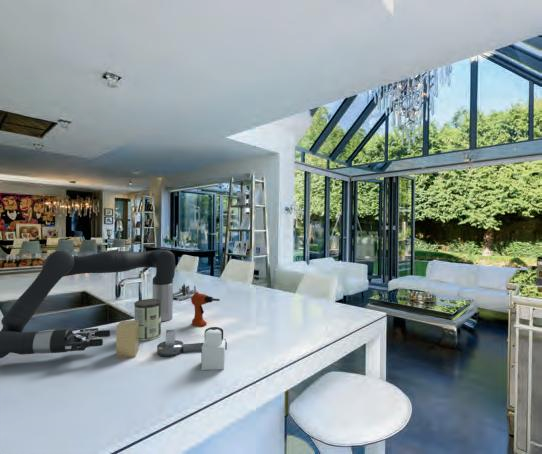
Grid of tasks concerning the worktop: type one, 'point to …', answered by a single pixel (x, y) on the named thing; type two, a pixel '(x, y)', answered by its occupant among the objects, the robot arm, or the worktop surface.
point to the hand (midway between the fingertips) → (106, 337)
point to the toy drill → (200, 308)
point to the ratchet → (177, 346)
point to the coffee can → (148, 318)
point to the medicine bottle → (213, 350)
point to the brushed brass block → (127, 339)
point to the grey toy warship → (185, 292)
